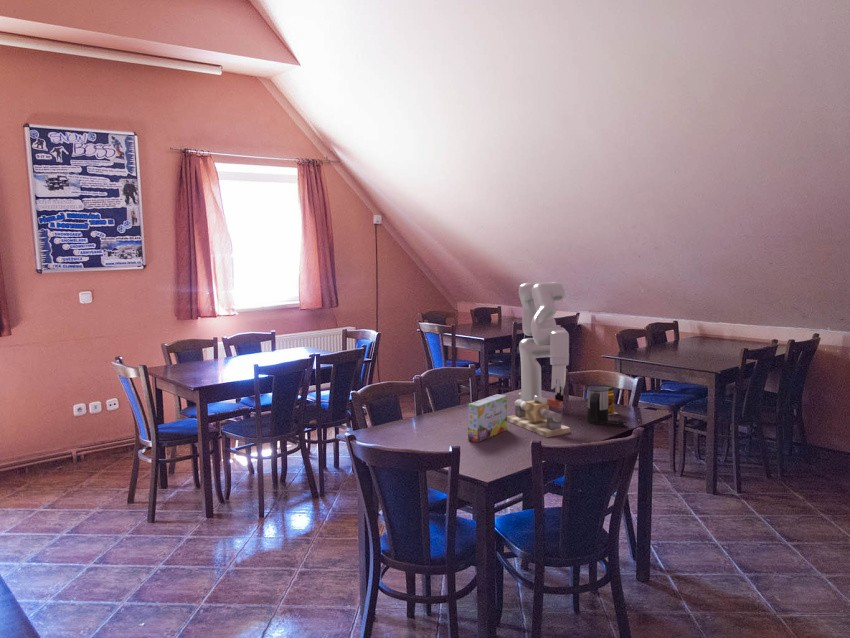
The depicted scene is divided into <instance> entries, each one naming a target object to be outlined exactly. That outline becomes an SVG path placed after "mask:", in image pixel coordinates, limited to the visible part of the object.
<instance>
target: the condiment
mask: <svg viewBox="0 0 850 638" xmlns="http://www.w3.org/2000/svg"><path fill="white" fill-rule="evenodd" d="M602 387H607V388H609V390H608V416H614V415H616V414H617V415H618V414H619V413H618V412H616V411H615V394H614V387H613V386H609V385H605V386H602Z"/></svg>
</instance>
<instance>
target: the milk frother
mask: <svg viewBox="0 0 850 638" xmlns="http://www.w3.org/2000/svg"><path fill="white" fill-rule="evenodd" d="M608 390H609V388H607V387H603V386H599V385H597V386H595V385H594V386H588V387H587V419H586V422H587V423H589V424H593V425H607V424H618V425H619V426H620V425H622V426H624V424H627V421H626V420H624V419H623V418H622V419H621V418H619V419H618V420H616V419H610V420H609V415H608Z"/></svg>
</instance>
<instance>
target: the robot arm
mask: <svg viewBox="0 0 850 638" xmlns="http://www.w3.org/2000/svg"><path fill="white" fill-rule="evenodd" d="M565 290H566V289H565V287H564V285H563V284H562V283H561V282H558V281H557V282H556V281H540V282H538V281H537V282H535V281H534V282H523V283H522V284H520V285H519V287H518V296H519V299H520V303H521V306H522V316H521V317H522V320H521V322H522V323H521V324H522V332H523V334H524V335H525V336H529V337H527V338H523V339H521V340H520V341H519V343H518V344H519V345H518V350H519V351H518V352H519V357H520V376H521V378H520V379H521V380H520V382H521V383H520V384H521V385H520V386H521V387H520V388H521V391H519V392H518V396H520V398H519V400H522V401H525V402H527V401H533V400H534V396H535V395H539V396H540V397H542V366H541V364H540V363H539V361H537V359H539V358H549V365H551V390H553V389H555V392H554V393H555V395H554V399H556V400H561V401H563V402H564V389H565V386H566V378H567V366H569V365H570V364H569V363H570V361H569V360H570V353H569V352H570V351H569V350H570V334H569V331H567V330H566V329H565V328H564V327H561V326H559V327H558V326H557V322H556V319H555V318H554V316H555V315H556V313H557V305H556V303H555V302H562V301H563V300H564V299H565V296H566V291H565ZM531 336H532V337H531Z"/></svg>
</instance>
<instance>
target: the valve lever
mask: <svg viewBox="0 0 850 638" xmlns="http://www.w3.org/2000/svg"><path fill="white" fill-rule="evenodd" d="M534 402H541V403H545V404H547V405H548V406H549V407H552V408H557V409H561V408H563V407H564V400H563V401H561V400H556V399H555V398H551V397H550V398H546V397H543V396H541V397H540V396H539V395H535V396H534Z"/></svg>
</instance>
